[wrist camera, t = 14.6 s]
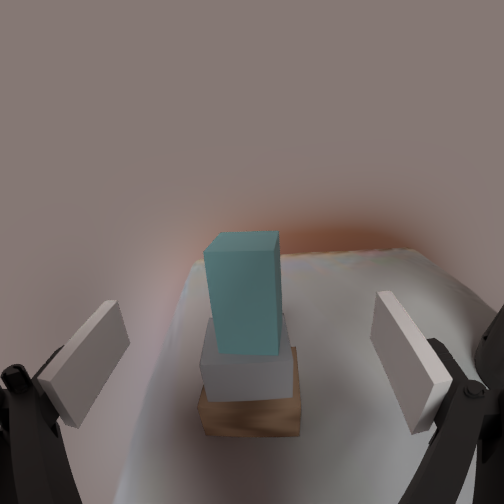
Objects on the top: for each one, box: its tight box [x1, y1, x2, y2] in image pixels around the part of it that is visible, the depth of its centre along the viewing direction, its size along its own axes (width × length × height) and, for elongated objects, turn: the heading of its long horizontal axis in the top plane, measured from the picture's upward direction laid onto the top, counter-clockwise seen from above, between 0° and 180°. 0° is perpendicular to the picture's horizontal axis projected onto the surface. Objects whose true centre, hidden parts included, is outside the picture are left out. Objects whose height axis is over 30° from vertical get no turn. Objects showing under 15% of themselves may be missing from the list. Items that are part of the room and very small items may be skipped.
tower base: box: [197, 347, 301, 437], centre depth 28 cm, size 9×9×4 cm
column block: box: [204, 231, 282, 356], centre depth 25 cm, size 5×5×9 cm
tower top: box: [200, 313, 293, 402], centre depth 27 cm, size 8×8×4 cm
